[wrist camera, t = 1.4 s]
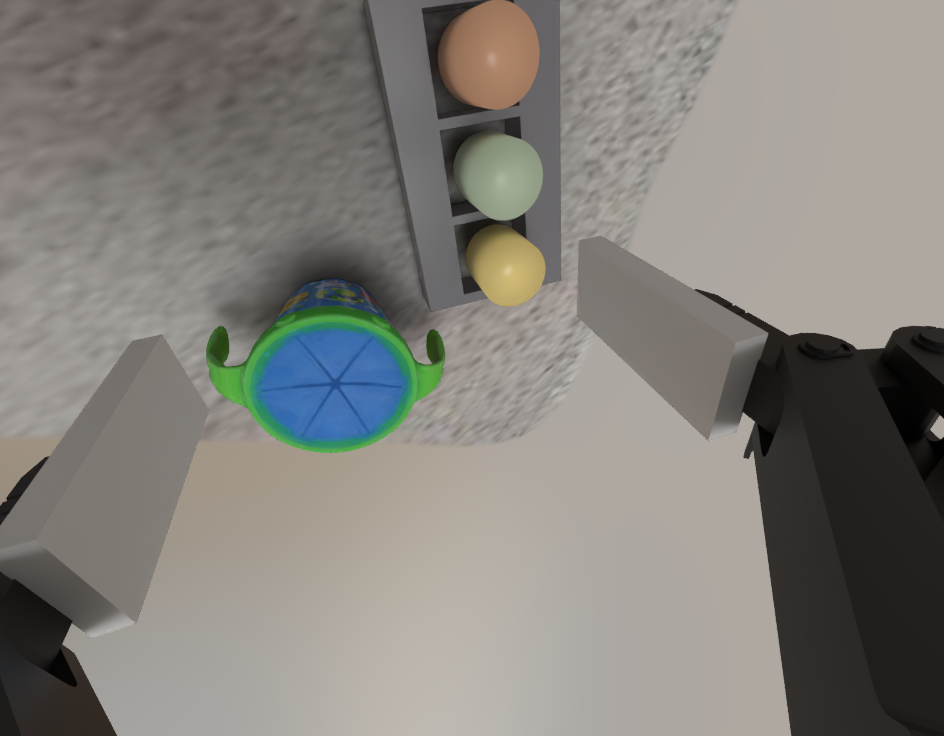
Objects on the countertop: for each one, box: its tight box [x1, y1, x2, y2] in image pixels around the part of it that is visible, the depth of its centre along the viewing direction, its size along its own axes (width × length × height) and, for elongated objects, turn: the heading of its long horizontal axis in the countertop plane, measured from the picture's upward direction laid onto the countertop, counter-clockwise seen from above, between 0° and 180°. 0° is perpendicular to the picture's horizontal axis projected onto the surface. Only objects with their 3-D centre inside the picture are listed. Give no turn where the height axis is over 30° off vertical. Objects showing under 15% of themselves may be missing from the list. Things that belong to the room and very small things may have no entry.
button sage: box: [453, 130, 543, 220], centre depth 28 cm, size 5×5×4 cm
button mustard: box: [465, 224, 546, 306], centre depth 31 cm, size 5×5×4 cm
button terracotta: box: [438, 0, 540, 110], centre depth 24 cm, size 5×5×4 cm
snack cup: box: [206, 279, 445, 453], centre depth 31 cm, size 16×10×10 cm
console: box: [363, 0, 561, 312], centre depth 31 cm, size 19×11×3 cm, turn 7°
